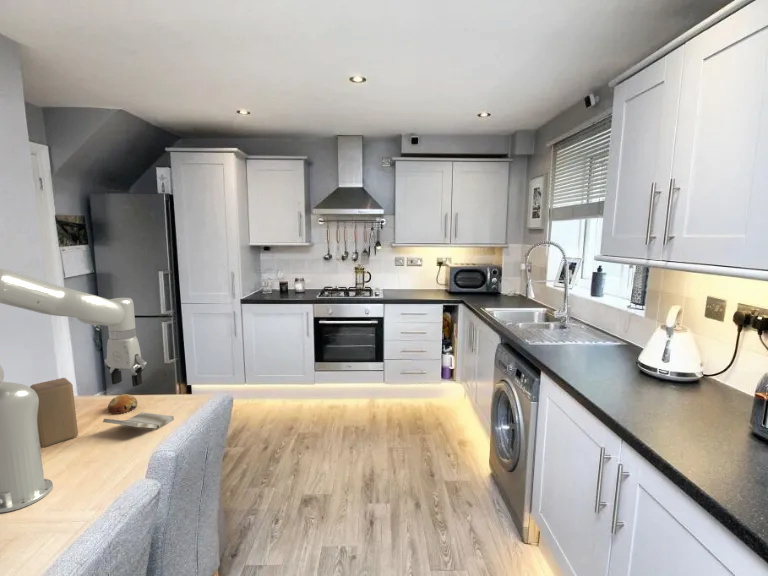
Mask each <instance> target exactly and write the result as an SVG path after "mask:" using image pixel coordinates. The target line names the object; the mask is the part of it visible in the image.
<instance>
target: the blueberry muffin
mask: <svg viewBox="0 0 768 576" xmlns="http://www.w3.org/2000/svg"><path fill="white" fill-rule="evenodd" d="M137 407H138V400H137V398H136V397H135V396H134V395H132V394H128V393H126V394H125V393H124V394H120V395H117V396H115V397H113V398H112V399H111V401H109V403H108V405H107V412H108V414H110V413H111V414H110V415H114V414H118V415H124V413H125V414H128V413H130V411H131V412H133V411H135V409H136V408H137ZM132 410H133V411H132ZM127 412H128V413H127Z"/></svg>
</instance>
